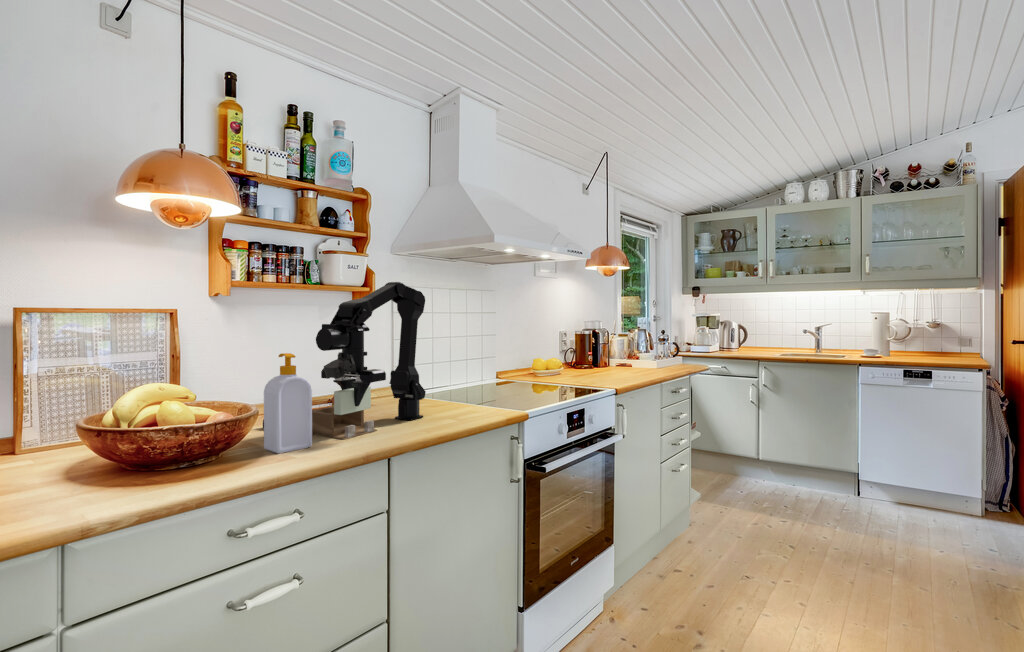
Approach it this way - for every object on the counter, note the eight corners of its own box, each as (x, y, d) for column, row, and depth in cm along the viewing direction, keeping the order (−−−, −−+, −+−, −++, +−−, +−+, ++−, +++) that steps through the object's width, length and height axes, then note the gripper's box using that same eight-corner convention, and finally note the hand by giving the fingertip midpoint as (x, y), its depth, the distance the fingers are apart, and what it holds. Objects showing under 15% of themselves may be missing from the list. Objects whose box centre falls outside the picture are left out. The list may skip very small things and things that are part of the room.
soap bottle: (297, 442, 134) (297, 351, 133) (312, 446, 130) (312, 353, 129) (262, 449, 127) (261, 353, 126) (276, 454, 123) (276, 355, 122)
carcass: (340, 425, 154) (340, 404, 154) (377, 430, 148) (377, 409, 148) (307, 433, 144) (307, 411, 144) (344, 439, 137) (344, 416, 137)
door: (364, 407, 149) (364, 386, 149) (370, 408, 148) (370, 386, 148) (334, 414, 140) (334, 391, 139) (340, 415, 138) (340, 392, 138)
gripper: (304, 349, 141) (305, 407, 141) (356, 351, 132) (356, 414, 132) (336, 346, 151) (337, 401, 151) (387, 349, 142) (387, 407, 142)
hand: (353, 405), depth 144 cm, fingers closed on door, 2 cm apart
